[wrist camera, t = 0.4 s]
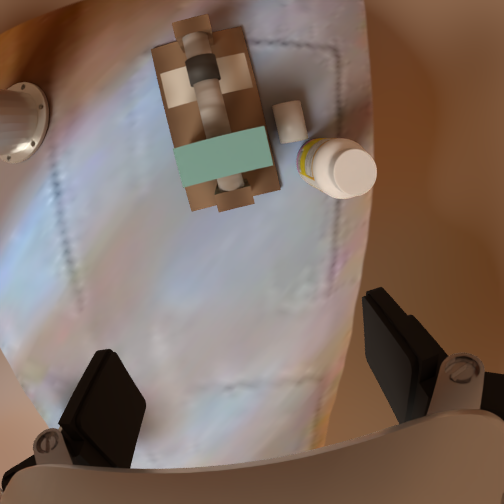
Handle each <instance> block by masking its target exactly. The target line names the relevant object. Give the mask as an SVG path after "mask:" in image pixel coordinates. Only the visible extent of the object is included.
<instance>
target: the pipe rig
mask: <svg viewBox="0 0 504 504" xmlns="http://www.w3.org/2000/svg"><path fill="white" fill-rule="evenodd" d="M172 25H173V30H174V34H175V38H176V40H177V42H173V43H170V44H166V45H163V46H160V47H157V48H154V49H151V52H152V57H153V62H154V66H155V71H156V75H157V79H158V84H159V88H160V92H161V96H162V101H163V105H164V109H165V113H166V117H167V121H168V125H169V129H170V133H171V137H172V141H173V145H174V148H177V147H181V146H184V145H188V144H191V143H195V142H199V141H202V140H206V139H210V138H214V137H218V136H222V135H226V134H230V133H234V132H238V131H243V130H247V129H252V128H256V127H261V126H264V127H265V131H266V135H267V140H268V144H269V149H270V153H271V157H272V162H273V166H268V167H264V168H259V169H255V170H251V171H246V172H242V173H238V174H234V175H230V176H226V177H222V178H218V179H214V180H210V181H206V182H203V183H199V184H195V185H192V186H188V187H185V189H186V193H187V197H188V200H189V204H190V207H191V211H196V210H200V209H203V208H207V207H211V206H215V205H217V207H218V211H219V212H222V211H226V210H230V209H234V208H238V207H242V206H247V205H251V204H255V203H254V199H253V196H255V195H260V194H264V193H268V192H273V191H277V190H281V189H280V185H279V180H278V175H277V171H276V166H275V162H274V157H273V153H272V148H271V144H270V139H269V135H268V131H267V126H266V122H265V118H264V114H263V110H262V105H261V101H260V97H259V93H258V89H257V85H256V81H255V77H254V73H253V69H252V65H251V62H250V58H249V54H248V50H247V46H246V43H245V39H244V35H243V31H242V28H241V27H236V28H231V29H226V30H221V31H216V32H212V28H211V24H210V20H209V16H208V14H205V15H201V16H197V17H193V18H189V19H185V20H181V21H178V22H174V23H172Z"/></svg>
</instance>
